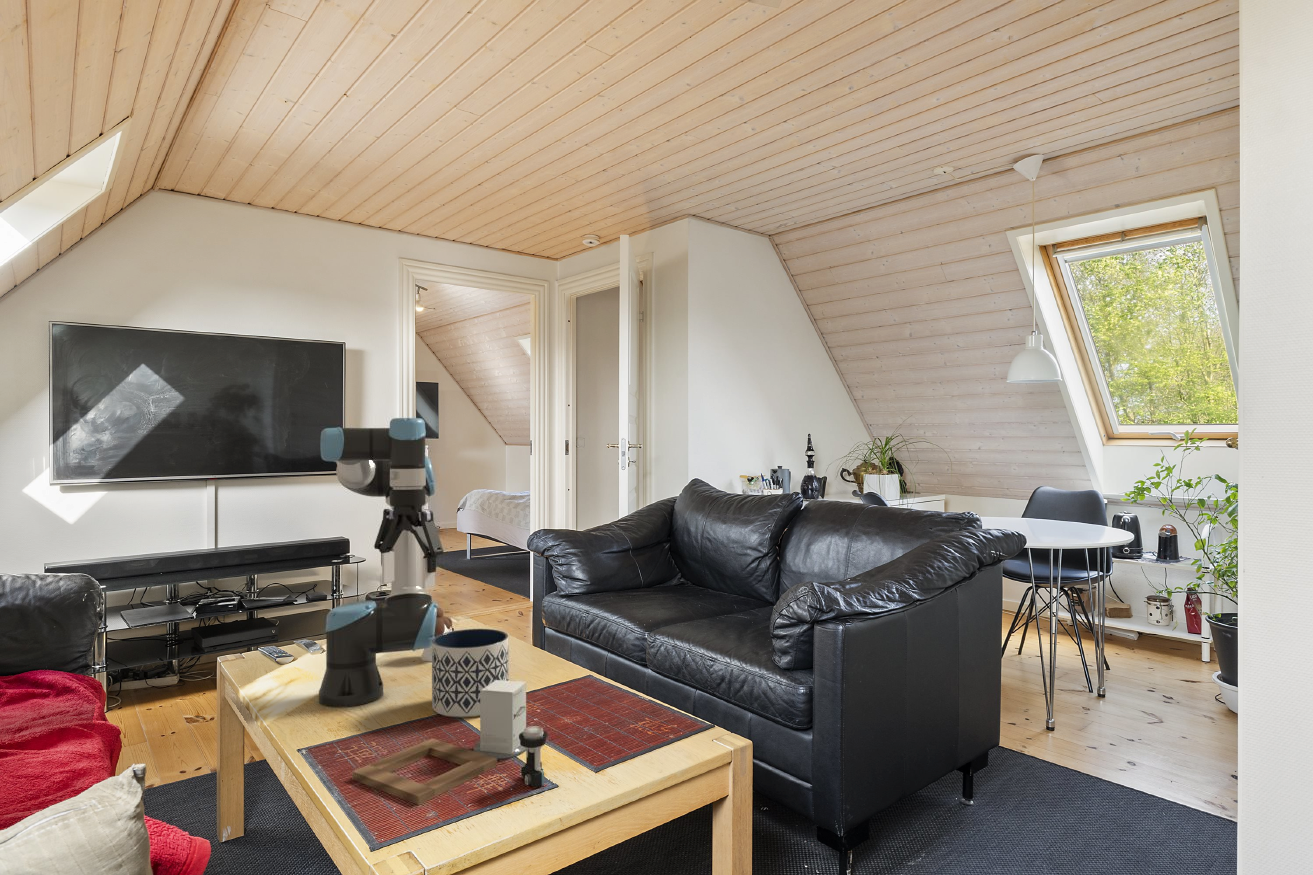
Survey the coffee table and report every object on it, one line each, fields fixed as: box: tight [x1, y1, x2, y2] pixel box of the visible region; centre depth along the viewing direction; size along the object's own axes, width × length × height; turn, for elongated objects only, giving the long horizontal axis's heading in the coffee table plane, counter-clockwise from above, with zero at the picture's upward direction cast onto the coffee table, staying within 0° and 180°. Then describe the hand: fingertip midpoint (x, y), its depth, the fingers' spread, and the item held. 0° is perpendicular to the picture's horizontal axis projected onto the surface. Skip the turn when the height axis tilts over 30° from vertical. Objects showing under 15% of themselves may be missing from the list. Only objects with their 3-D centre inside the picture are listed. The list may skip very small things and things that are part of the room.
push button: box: [519, 725, 549, 789], centre depth 142 cm, size 7×5×10 cm
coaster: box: [473, 741, 526, 761], centre depth 157 cm, size 11×11×1 cm
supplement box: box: [479, 680, 527, 754], centre depth 157 cm, size 7×7×13 cm
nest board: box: [352, 738, 498, 806], centre depth 146 cm, size 19×19×2 cm
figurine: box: [420, 607, 453, 663], centre depth 224 cm, size 10×9×15 cm
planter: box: [431, 628, 510, 719], centre depth 183 cm, size 18×18×16 cm
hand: (408, 584), depth 166 cm, fingers open, 13 cm apart
